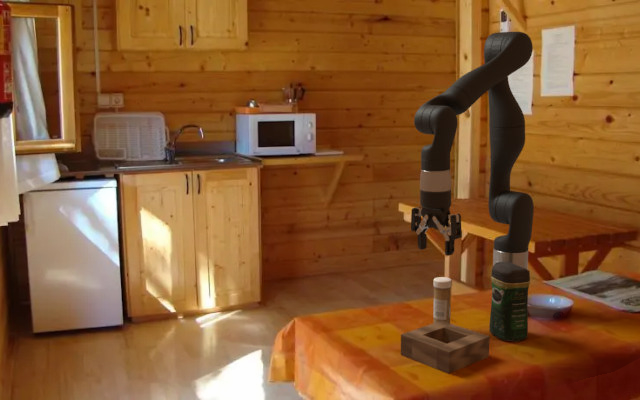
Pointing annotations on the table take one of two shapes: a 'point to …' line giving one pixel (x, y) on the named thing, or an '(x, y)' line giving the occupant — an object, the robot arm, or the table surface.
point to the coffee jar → (509, 301)
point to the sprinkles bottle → (442, 299)
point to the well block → (445, 346)
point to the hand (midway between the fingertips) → (435, 251)
